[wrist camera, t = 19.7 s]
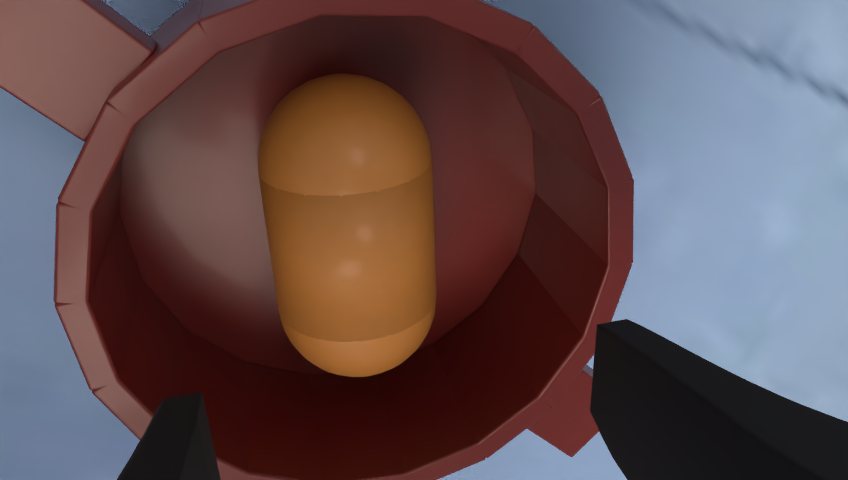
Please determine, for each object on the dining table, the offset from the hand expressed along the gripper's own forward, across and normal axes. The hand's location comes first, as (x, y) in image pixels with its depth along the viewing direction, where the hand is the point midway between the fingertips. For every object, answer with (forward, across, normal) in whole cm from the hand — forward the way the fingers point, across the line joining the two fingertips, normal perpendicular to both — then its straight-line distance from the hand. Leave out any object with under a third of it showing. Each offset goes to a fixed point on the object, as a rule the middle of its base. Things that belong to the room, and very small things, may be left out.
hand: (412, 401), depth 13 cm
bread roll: (+10, 0, 0) cm, 10 cm away
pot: (+10, 0, 0) cm, 10 cm away
